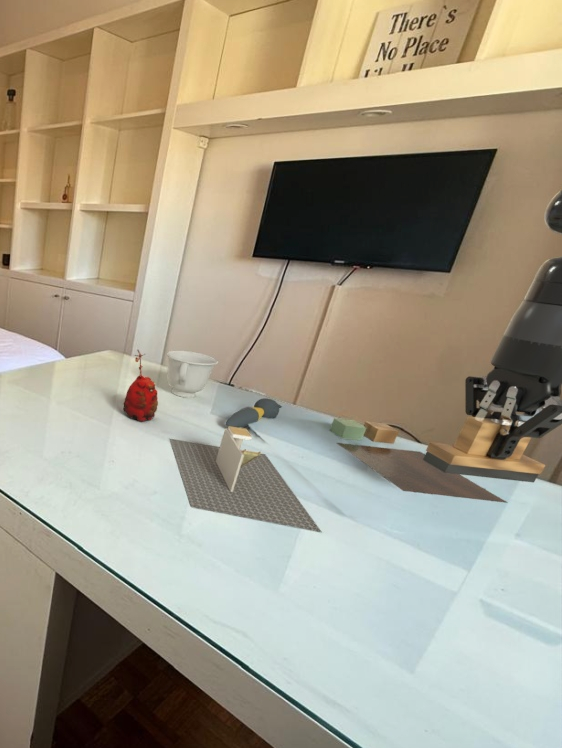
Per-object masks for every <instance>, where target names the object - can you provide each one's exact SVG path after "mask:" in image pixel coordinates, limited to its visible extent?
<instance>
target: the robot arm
mask: <svg viewBox="0 0 562 748" xmlns="http://www.w3.org/2000/svg"><path fill="white" fill-rule="evenodd" d="M543 214H544V215H543V219H544V223H545V226H546V227H547V228H548V229H549V230H550V231H552V232H553V233H556V234H559V235H562V188H561V189H560V190H559V191H558V192H556V194H555V195H554V196H553V197H552V198H551V199H550V201H549V202H548V204H547V206H546V207H545V210H544V213H543ZM490 364H491V366H492V367H493V368H492V369H491V370H490V371H489V372H488V373H486V375H483V376H471V375H470V376H469V375H468V376H467V377H466V378H465V381H464V382H465V383H464V384H465V385H464V386H465V387H464V388H465V396H464V397H465V399H464V400H465V404H464V405H465V409H464V411H465V415H467V416H471V417H479V418H489V419H499V420H503V422H502V424H501V427H500V430H499V432H500V433H497V435H496V437H495V439H494V441H493V443H492V444H491V446H490V448H489V450H488V452H487V456H488V457H490V458H493V459H502V460H504V459H506V458H509V457H510V456H511V455H512V454H513V451H514V450H515V448H516V446H517V444H518V443H519V441H520V439H521V438H523V437H530V438H531V439H541V438H543V437H544V436H546V435H547V434H550V433H551V432H552V431H554V430H555V429H557V428H558V427H560V426H561V425H562V399H561V398H560V397H561V395H562V255H561V256H555V257H551V258H548V259H546V260H545V261H544V262H542V264H540V266H539V268H538V269H537V271H536V273H535V275H534V277H533V279H532V282H531V283H530V285H529V288H528V289H527V292H526V293H525V295H524V298H523V300H522V301H521V303H520V305H519V306H518V308H517V309H516V310H515V312H514V314H513V315H512V317H511V318H510V320H509V322H508V324H507V326H506V328H505V331H504V333H503V335H502V337H501V339H500V341H499V343H498V345H497V347H496V349H495V351H494V353H493V354H492V357H491V360H490ZM477 403H478V404H479V405H478V404H477ZM477 405H478V406H477ZM516 421H518V424H517V426H516V427H514V426H515V423H516Z"/></svg>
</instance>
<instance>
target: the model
mask: <svg viewBox="0 0 562 748" xmlns="http://www.w3.org/2000/svg"><path fill="white" fill-rule="evenodd" d="M252 438H253V436H252V434H251V433H250V432H249V430H248V429H247V428H244V427H239V428H237V427H231V426H228V427H225V428H224V431H223V434H222V437H221V441H220V445H219V446H218V447H219V448H218V452H217V455H216V459H215V462H216V464H217V466H218V468H219V470H220V472H221V474H222V476H223V478H224V481H225V482H226V484H227V486H228V489H229V491H230V492H233V491H234V490H235V486H236V483H237V480H238V477H239V473H240V470H241V468H242V467H243V466H245V465H246V464H248V463H250V462H251V461H253V460H255V459H256V458H258V457H259V456H260V455H261V454H262V452H261V451H258V452H256V451H251V450H247V449H246V448H244V449H243V450H242V444H243V440H246V441H251V440H252Z"/></svg>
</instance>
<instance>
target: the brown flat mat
mask: <svg viewBox="0 0 562 748" xmlns="http://www.w3.org/2000/svg"><path fill="white" fill-rule="evenodd" d="M336 444H337V445H338V446H340V447H341V448H343V449H344V450H345V451H347V452H348V453H349V454H351V455H352V456H354V457H355V458H356V459H358V460H359V461H361V462H362V463H364V464H365V465H366V466H368V467H369V468H370V469H372V470H373V471H374V472H376V473H378V474H379V475H381V476H382V477H383V478H385V479H386V480H387V481H388V482H390V483H392V484H393V485H394V486H395V487H396V488H399V489H400V490H401V491H403V492H409V493H420V494H428V495H436V496H444V497H445V496H446V497H454V498H463V499H473V500H480V501H491V502H499V503H507V504H508V503H509V502H508V501H506V500H504V499H503V498H501V497H499V496H497V495H496V494H494V493H492V492H490V491H489V490H487V489H485V488H484V487H482V486H480V485H479V484H477V483H475V482H473V481H471V480H470V479H468V478H467V477H465V476H464V475H460V474H451V473H444V472H442V471H441V470H439V469H437V468H436V467H434V466H432V465H431V464H429V463H427V462H426V461H424V460H423V458H424V456H425V454H426V453H424V452H422V451H416V450H410V449H409V450H408V449H407V450H406V449H398V448H389V447H380V446H371V445H361V444H351V443H342V442H336Z"/></svg>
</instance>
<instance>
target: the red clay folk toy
mask: <svg viewBox="0 0 562 748" xmlns="http://www.w3.org/2000/svg"><path fill="white" fill-rule="evenodd" d="M136 352H137V353H138V355H137V354H134V355H133V356H134V357H135V359H134V361H135V362H136V363H139V366H138V370H139V375H137V376H136V378H135V380H134V381H133V382H132V383H131V384H130V385H129V387H128V389H127V391H126V394H125V398H124V399H123V408H122V410H123V412H124V413H125V415H126V416H127V417H128V418H130V419H132V420H136V421H138V422H146V421H151V420H153V418H155V416H156V414H155V413H156V412H157V410H158V406H159V402H158V390H157V389H156V383H155V381H152V378H151V377H150V376H144V375H143V374H142V369H143V367H144V365H142V357H143V356H146V353H143V354H141V352H140V350H139V349H137V350H136Z"/></svg>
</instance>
